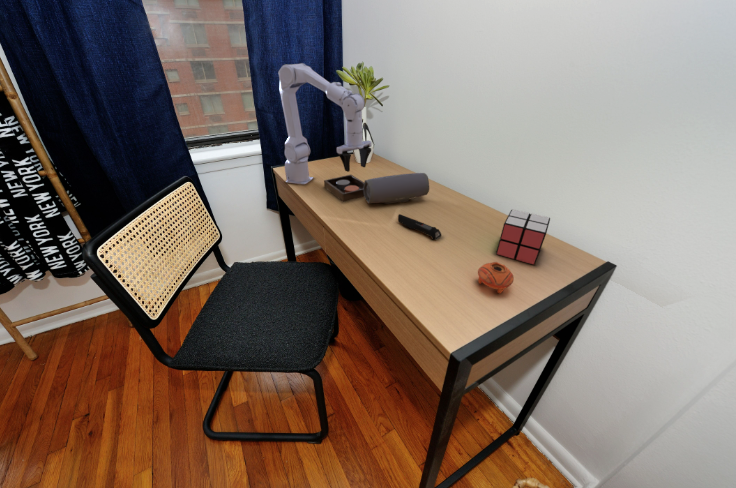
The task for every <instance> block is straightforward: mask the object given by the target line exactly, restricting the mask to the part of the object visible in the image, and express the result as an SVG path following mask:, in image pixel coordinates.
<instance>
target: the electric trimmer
mask: <svg viewBox="0 0 736 488" xmlns="http://www.w3.org/2000/svg"><path fill="white" fill-rule="evenodd" d="M397 221H398V222H399V223H400V224H402V225H403V226H405V227H407V228H408V229H410V230H416V231H418V232H419V233H420V232H421V233H422V234H425V235H426V236H429V237H431V239H432V240H433V241H434V240H435V241H437V240H439V239H440V238H441V237H442V233H441V230H440V229H439V228H437V227H436V226H432V225H429V224H426V223H424V222H422V221H419V220H417V219H413V218H412V217H408V216H407V215H404V214H400V213H399V214H398V215H397Z"/></svg>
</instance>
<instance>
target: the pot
mask: <svg viewBox="0 0 736 488" xmlns="http://www.w3.org/2000/svg"><path fill="white" fill-rule="evenodd" d="M477 275H478V281H477V282H478V284H479V285H481V284H482V283H483V284H484V285H485V286H487V287H489V288H490V289H495V290H496V291H497V294H502V293H503V291H504V290H505V289H506V288H508V287H510V286H512V284H513V283H514V281H515V277H514V275H513V272H512V271H511V270H510V268H508V267H507V266H506V265H505V264H502V263H500V262H497V261H493V262H487V263H484V264H482V265H481V266H480V267H479V268H478V270H477Z"/></svg>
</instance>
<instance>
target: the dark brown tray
mask: <svg viewBox="0 0 736 488" xmlns="http://www.w3.org/2000/svg"><path fill="white" fill-rule="evenodd" d="M339 180H348V181H350V186H351V185H354V186H358V187H359V190H355V191H351V192H347V193H345V190H339V189H337V185H336V182H337V181H339ZM364 182H365V181H363V180H361V179H359V178H358V177H356V176H355V175H353V174H347V175H341V176H338V177H333V178H327V179H324V180H323V186H324V187H323V188H324V189H326V190H327V191H329V193H331V194H332V195H333V196H335V197H336V198H338V200H340V201H342V203H344V202H349V201H352V200H356V199H360V198H365V196H364V190H363V187H364Z"/></svg>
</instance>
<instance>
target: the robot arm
mask: <svg viewBox="0 0 736 488" xmlns="http://www.w3.org/2000/svg"><path fill="white" fill-rule="evenodd" d="M277 73H278V78H279V85H278V86H279V87H278V89H279V94H280V100H281V105H282V110H283V116H284V121H285V126H286V132H287V136H288V138H287V139H286V141H285V142H284V156H285V159H286V161H285V163H284V172H285V179H286V180H285V183H289V184H296V185H306V184H308V183H309V182H310V181H312V180H313V179H314V177H313V176H310V170H309V169H310V168H309V160H308V159H309V156H310V154H311V148H310V145H309V144H308V139H307V138H306V137H305V136H303V131H302V125H301V119H300V114H299V113H300V112H299V107H298V102H297V96H296V93H297V91H299V89H300V87H302V86H304V85H305V84H306V83H308V84H310V85H311V86H314V87H315V88H317V89H319V90H321V91H322V92H324V93H325V94H326V97H327V99H328V100H330V101H331V102H333V103H335V104H336V105H337V106H339V107H341V110H342V111H343V112H344V118H345V133H346V134H345V136H346V143H345V144H343V145H340V146H337V147H336V153H337V155H338V156H339V159H340V160H341V163H342V165H343V168H344V171H345V172H347V173H349V172H350V171H351V165H350V163H351V157H352V154H351V153H349V152H352V151H357V150H358V152H359V159H360V161H359V163H360V167H362V168H366V166H367V162H368V159H369V156H370V154H371V153H372V143H373V142H372V141H371V140H363V110H364V109H365V105H366V103H365V99H364V97H363V96H362V95H361V94H360V93H353V91H352V90H351V89H349V90H348V89H347V88H345V87H344V86H342V83H341V82H339V81H338V82H336V81H333V82H330V81H328V80H327V79H325V78H324V77H323V76H321V75H320V74H318V73H317V72H316V71H315V70H313V69H312V67H311V66H309V65H306V64H305V63H303V62H300V63H294V64H293V63H291V64H283V65H282V66H281V67H280V68H279V70H278V72H277Z"/></svg>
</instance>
